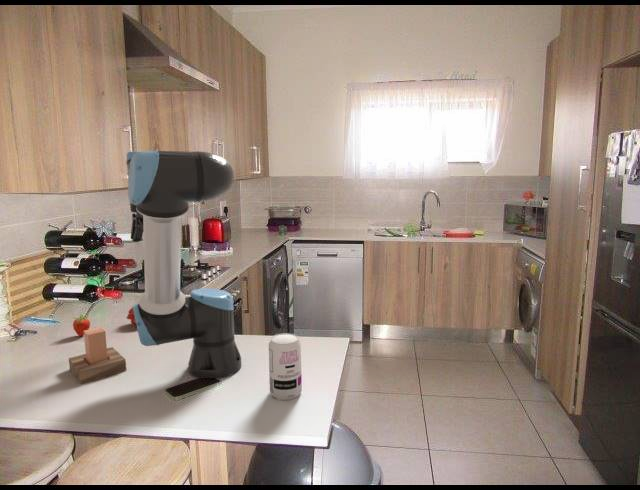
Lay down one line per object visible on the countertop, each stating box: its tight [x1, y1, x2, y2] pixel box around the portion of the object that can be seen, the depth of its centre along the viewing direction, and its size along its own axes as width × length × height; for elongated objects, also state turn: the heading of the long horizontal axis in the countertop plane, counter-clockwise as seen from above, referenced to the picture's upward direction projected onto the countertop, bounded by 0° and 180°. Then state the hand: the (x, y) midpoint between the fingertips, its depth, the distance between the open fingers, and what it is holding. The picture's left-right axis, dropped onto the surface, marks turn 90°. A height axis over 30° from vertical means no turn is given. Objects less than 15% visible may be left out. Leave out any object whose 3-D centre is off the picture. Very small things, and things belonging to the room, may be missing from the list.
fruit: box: [72, 313, 91, 337], centre depth 153 cm, size 5×5×8 cm
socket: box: [68, 346, 127, 385], centre depth 127 cm, size 12×12×4 cm
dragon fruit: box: [126, 306, 136, 326], centre depth 164 cm, size 8×8×12 cm
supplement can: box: [268, 332, 303, 401], centre depth 112 cm, size 8×8×15 cm
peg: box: [83, 326, 108, 365], centre depth 126 cm, size 4×4×12 cm
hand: (146, 263), depth 146 cm, fingers open, 13 cm apart
